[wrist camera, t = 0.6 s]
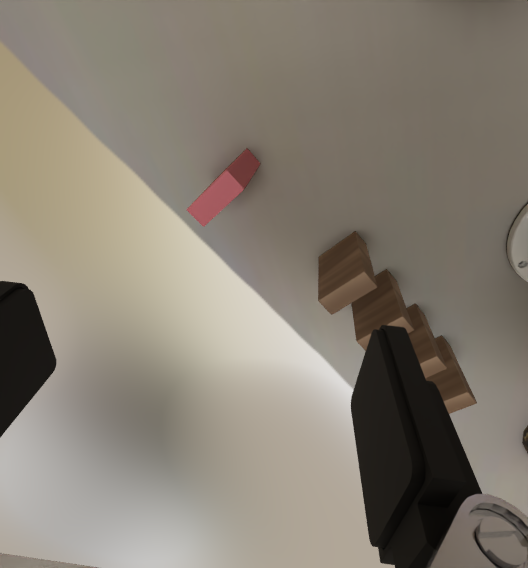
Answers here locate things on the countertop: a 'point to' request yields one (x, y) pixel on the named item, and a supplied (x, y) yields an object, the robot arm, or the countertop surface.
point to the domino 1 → (345, 274)
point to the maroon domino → (224, 188)
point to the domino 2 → (380, 309)
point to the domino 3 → (425, 343)
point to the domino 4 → (452, 380)
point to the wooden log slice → (525, 439)
